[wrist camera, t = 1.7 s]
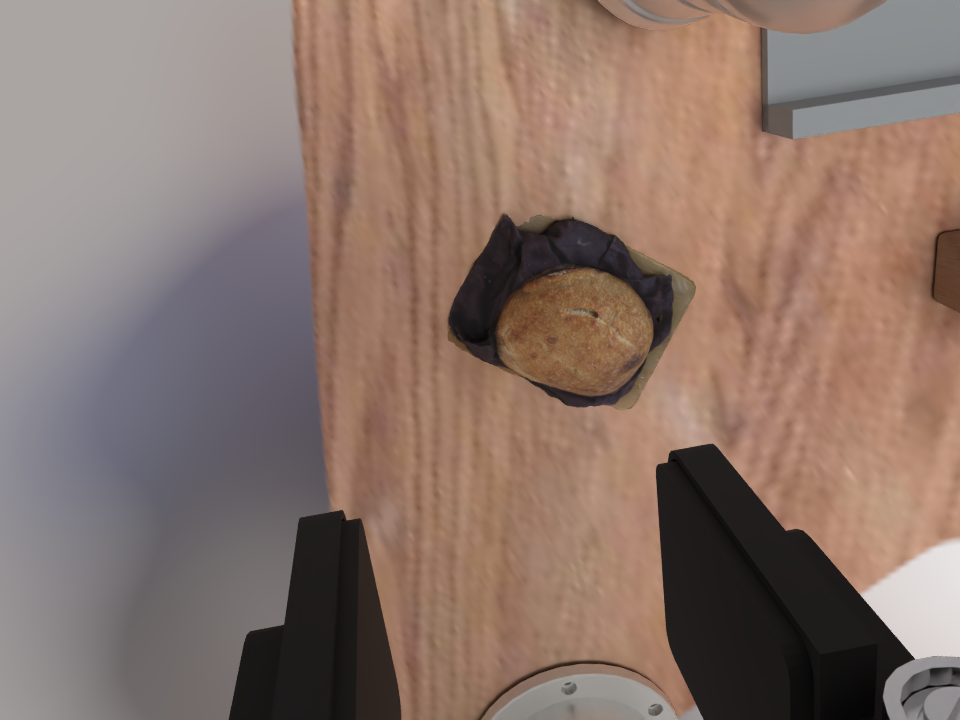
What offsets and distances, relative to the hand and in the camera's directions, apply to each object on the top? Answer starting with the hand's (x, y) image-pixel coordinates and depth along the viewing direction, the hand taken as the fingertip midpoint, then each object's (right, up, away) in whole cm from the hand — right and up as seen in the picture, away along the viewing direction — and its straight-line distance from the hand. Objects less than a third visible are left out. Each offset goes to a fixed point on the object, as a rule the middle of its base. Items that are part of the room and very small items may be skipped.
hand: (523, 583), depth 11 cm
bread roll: (+4, +5, +31) cm, 32 cm away
